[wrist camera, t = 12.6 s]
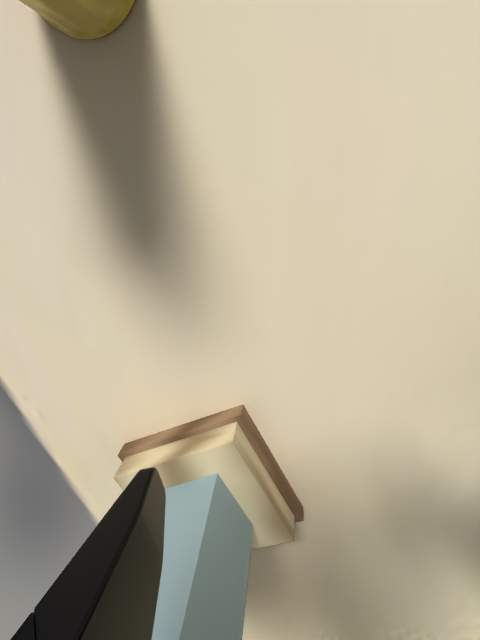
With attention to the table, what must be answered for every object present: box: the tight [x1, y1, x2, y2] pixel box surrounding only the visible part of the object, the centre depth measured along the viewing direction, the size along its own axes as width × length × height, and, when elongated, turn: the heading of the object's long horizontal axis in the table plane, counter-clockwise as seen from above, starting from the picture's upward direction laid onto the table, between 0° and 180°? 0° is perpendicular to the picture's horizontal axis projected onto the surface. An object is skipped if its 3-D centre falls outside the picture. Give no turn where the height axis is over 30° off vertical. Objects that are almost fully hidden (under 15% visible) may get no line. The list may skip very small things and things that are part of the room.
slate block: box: [152, 473, 253, 640], centre depth 21 cm, size 6×6×12 cm
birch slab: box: [114, 422, 294, 549], centre depth 27 cm, size 10×10×2 cm
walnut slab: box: [118, 405, 303, 522], centre depth 29 cm, size 11×11×2 cm
